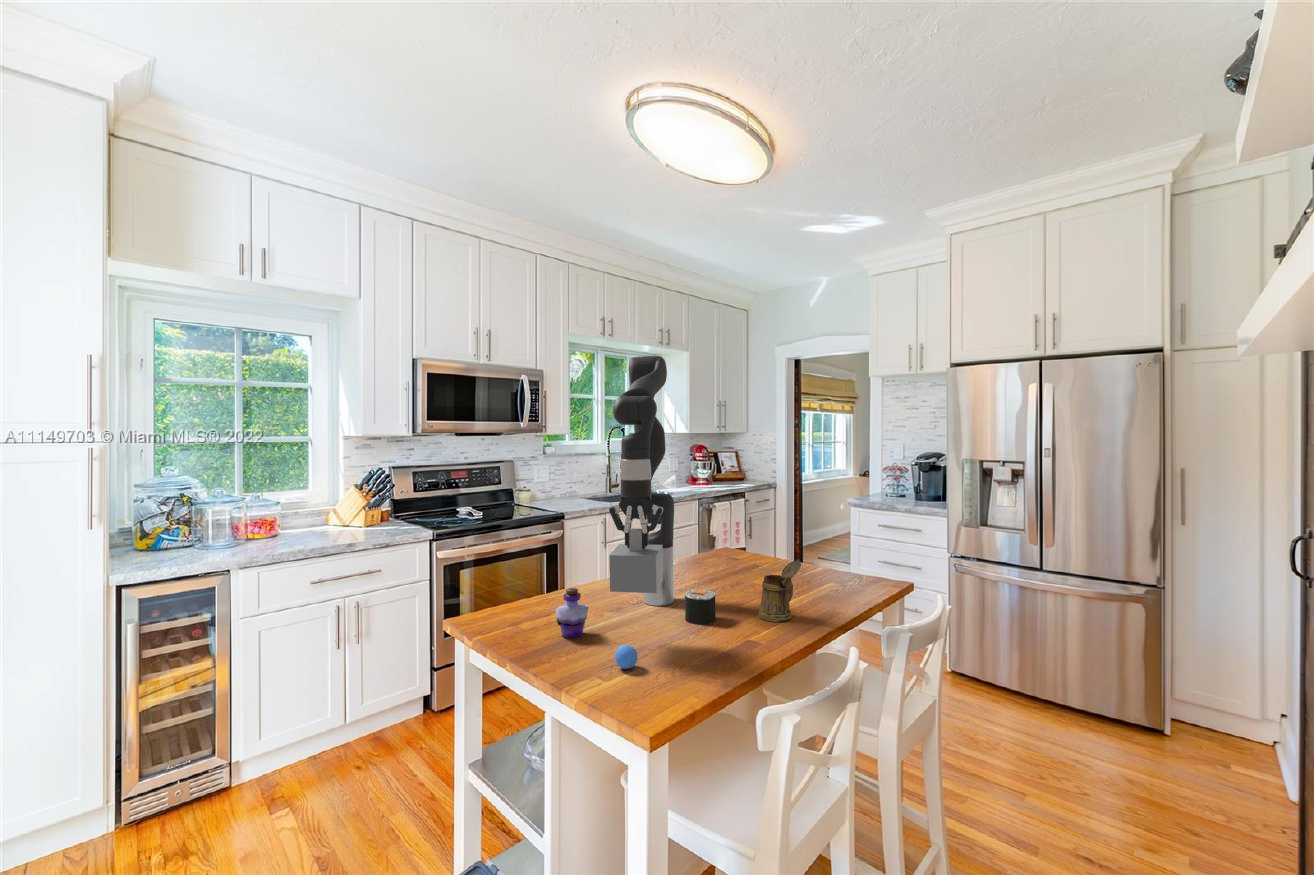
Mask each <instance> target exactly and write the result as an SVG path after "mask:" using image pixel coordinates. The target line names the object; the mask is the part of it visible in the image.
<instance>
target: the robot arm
mask: <svg viewBox="0 0 1314 875" xmlns="http://www.w3.org/2000/svg"><path fill="white" fill-rule="evenodd" d="M667 376H668V369H667V362H666V360H665V358H664V357H662V356H660V355H648V356H634V357H631V358H630V359H629V362H628V378H629V388H628V390H627V391H624V392H623V393H621V394H620V395H618V397H617V398H616V399H615V401H614V403H613V408H612V415H613V418H614V419H615V421H616V422H617V423H618V424H620V425H624V426H633V433H632V434H631V433H630V434H627V435H624V436H623V437H622V438H621V443H620V445H621V448H620V450H621V454H620V456H621V458H620V459H621V461H620V462H621V463H620V474H619V477H620V500H619V502H618V504H616V505H614V506H611V507H610V508H609V509H608V510H609V514H610V516H611V518H612V521H613V523H614V525H615V527H616V529H617V530H618V531H622V533H624V544H625V545H626V546H627V548H630V543H629V531H630V530H631V528H632V524H633V520H634V519H635V520H639V523H640V526H641V528H642V532H643V533H642V548H644V549H645V548H646V546H647V545H663V580H662V583H661V585H660V587H659V589H658V591H657V593H643V603H644V604H645V605H649V606H657V607H660V606H666V605H670V604H671V605H672V604H673V603H674V600H675V599H674V598H675V596H674V591H675V590H674V586H675V585H674V521H675V502H674V498H673V496H672V495H671V494H669V493H652V480H653V478H654V475H655V473H656V471H657V470H658V468H659V466H660V464H662V461H663V459H664V457H665V455H666V449H667V448H666V437H665V436H666V434H665V433H666V432H665V429H664V427H663V425H662V423H661V422H660V420H659V419H658V418H657V411H658V407H657V403H656V401H655V396H656V394H658V392H659V391H660V390H661V389H662V388H663V386H665V384H666V382H667ZM621 511H622V513H623V514H624V515H625V520H624V523H623V521H622V519H621V517H620V512H621ZM649 524H650V525H649ZM657 525H660V529H659V530H657V531H655V529H657ZM652 531H655V532H654V533H650V534H649V532H652Z"/></svg>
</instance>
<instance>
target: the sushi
mask: <svg viewBox="0 0 1314 875" xmlns="http://www.w3.org/2000/svg"><path fill="white" fill-rule="evenodd" d="M684 601H685V603H684V607H685V609H684V610H685V611H684V612H685V614H684V620H685V621H686V622H687V623H690V624H694V625H699V626H702V625H703V626H706V625H707V626H708V625H710V623H711V624H712V623H714V622H715V621H716V619H717V618H716V616H717V615H716V592H714V591H712V590H707V589H706V590H704V589H703V590H702V589H689V590H688V591H686V592H685V595H684ZM713 621H714V622H713Z"/></svg>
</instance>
